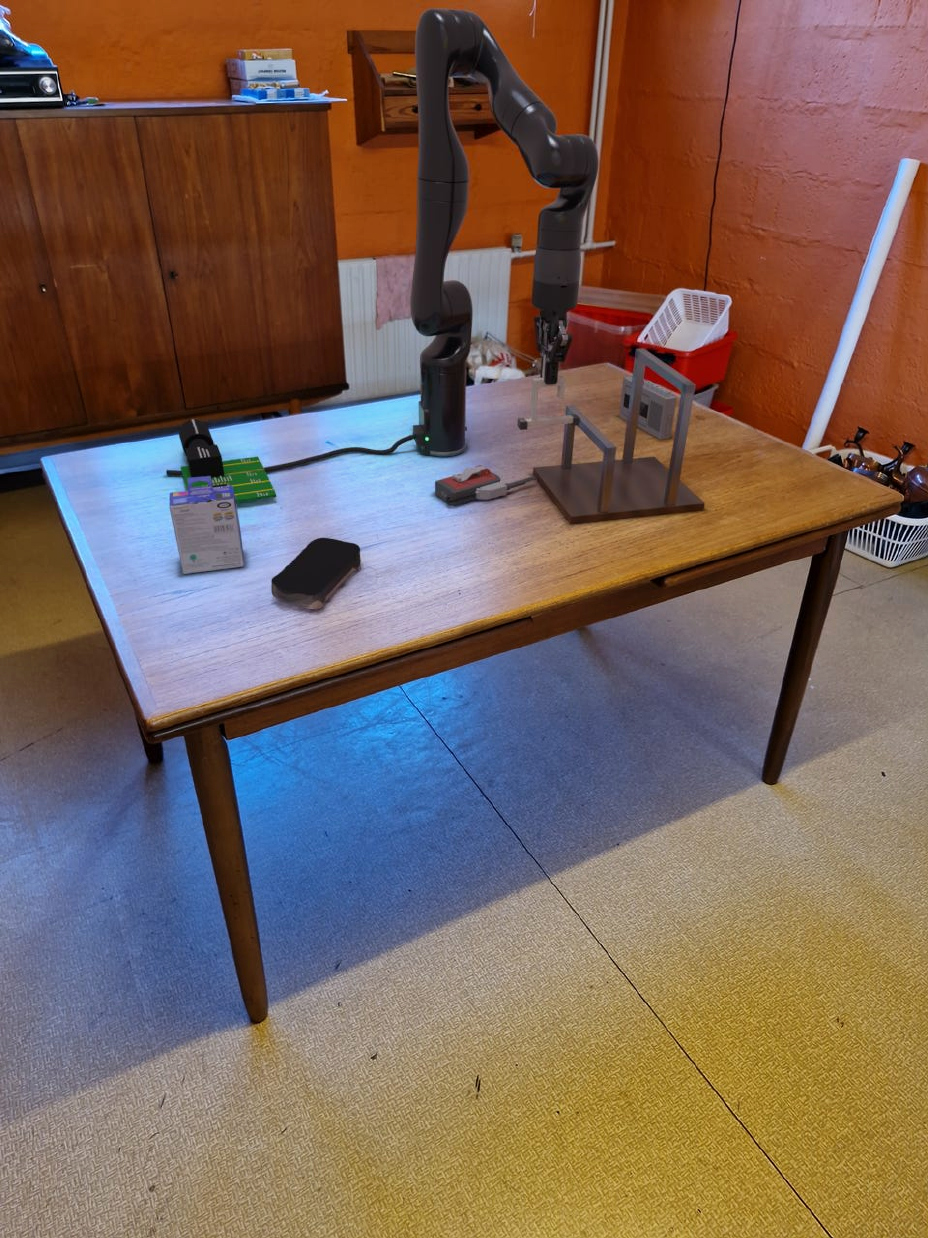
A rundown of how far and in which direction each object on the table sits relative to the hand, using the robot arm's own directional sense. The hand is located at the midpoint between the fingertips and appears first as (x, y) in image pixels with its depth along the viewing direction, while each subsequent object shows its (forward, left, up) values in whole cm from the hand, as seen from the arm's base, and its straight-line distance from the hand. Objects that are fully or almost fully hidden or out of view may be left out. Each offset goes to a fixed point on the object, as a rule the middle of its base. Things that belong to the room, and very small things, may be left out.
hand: (548, 381), depth 147 cm
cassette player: (+35, +30, -23) cm, 51 cm away
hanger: (+1, 0, -8) cm, 8 cm away
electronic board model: (-57, +22, -23) cm, 66 cm away
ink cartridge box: (-59, -11, -23) cm, 65 cm away
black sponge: (-44, -21, -23) cm, 53 cm away
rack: (+15, 0, -22) cm, 27 cm away
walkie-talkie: (-9, +6, -23) cm, 25 cm away
